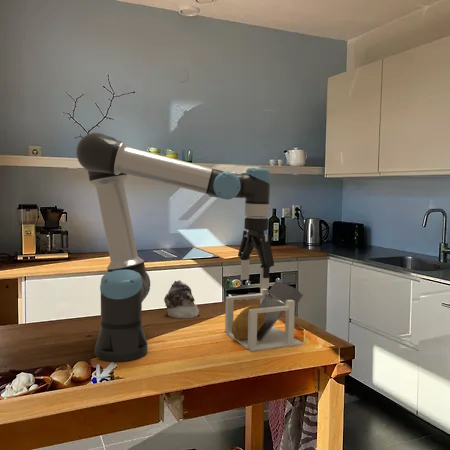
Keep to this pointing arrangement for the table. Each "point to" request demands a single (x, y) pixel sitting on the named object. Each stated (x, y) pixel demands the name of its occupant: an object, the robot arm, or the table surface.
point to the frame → (273, 337)
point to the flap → (276, 305)
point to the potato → (245, 323)
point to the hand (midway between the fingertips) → (254, 283)
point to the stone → (180, 301)
